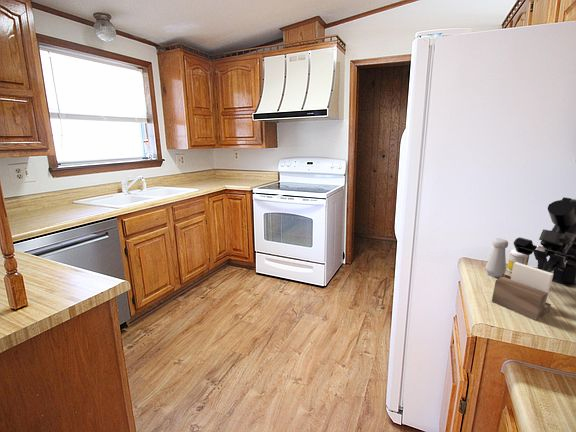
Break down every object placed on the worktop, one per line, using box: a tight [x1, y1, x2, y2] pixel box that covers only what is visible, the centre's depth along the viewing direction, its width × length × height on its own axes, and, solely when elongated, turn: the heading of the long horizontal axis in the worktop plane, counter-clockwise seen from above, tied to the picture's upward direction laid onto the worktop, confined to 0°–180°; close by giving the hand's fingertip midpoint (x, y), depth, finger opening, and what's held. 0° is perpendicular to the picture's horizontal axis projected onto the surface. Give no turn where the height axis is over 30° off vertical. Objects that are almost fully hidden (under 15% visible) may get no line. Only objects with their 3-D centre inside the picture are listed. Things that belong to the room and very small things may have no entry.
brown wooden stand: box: [491, 276, 552, 321], centre depth 88 cm, size 8×11×7 cm
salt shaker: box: [485, 238, 509, 279], centre depth 106 cm, size 6×6×13 cm
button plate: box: [510, 262, 553, 301], centre depth 89 cm, size 2×9×8 cm, turn 32°
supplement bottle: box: [506, 246, 530, 273], centre depth 109 cm, size 5×5×10 cm
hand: (538, 277), depth 92 cm, fingers closed
